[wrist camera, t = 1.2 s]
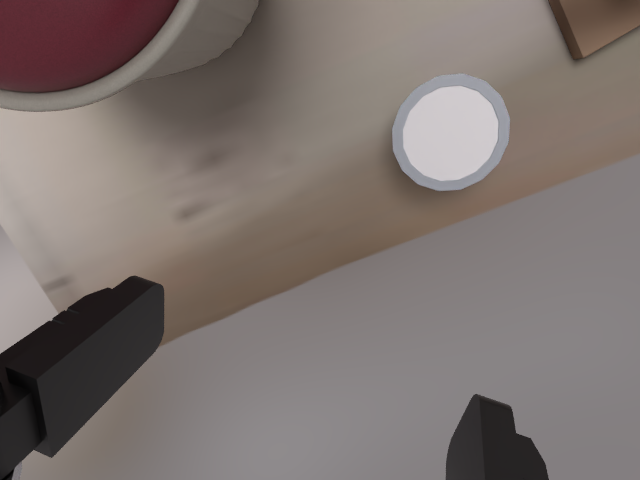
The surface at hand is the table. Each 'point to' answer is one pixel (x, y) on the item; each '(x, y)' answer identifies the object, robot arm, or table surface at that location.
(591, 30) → the base board
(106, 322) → the robot arm
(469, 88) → the white short cylinder
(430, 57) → the table surface
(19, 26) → the canister
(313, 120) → the table surface
